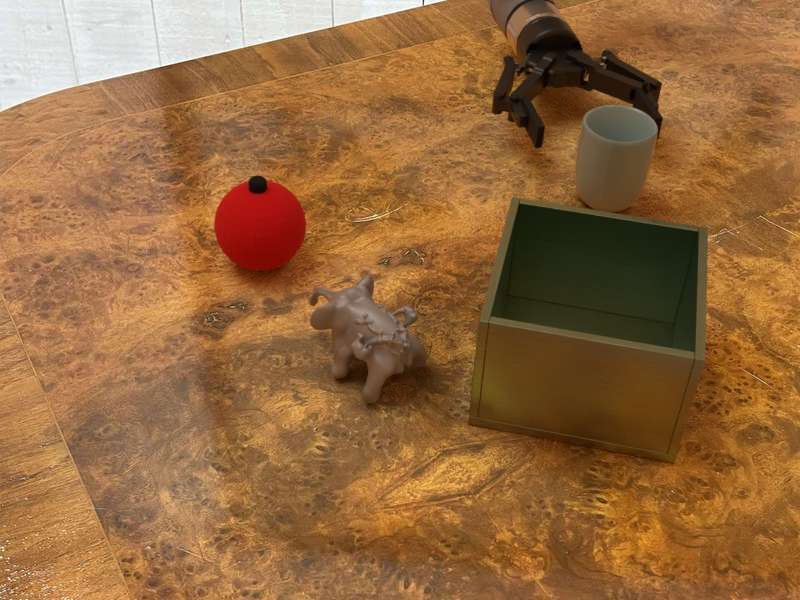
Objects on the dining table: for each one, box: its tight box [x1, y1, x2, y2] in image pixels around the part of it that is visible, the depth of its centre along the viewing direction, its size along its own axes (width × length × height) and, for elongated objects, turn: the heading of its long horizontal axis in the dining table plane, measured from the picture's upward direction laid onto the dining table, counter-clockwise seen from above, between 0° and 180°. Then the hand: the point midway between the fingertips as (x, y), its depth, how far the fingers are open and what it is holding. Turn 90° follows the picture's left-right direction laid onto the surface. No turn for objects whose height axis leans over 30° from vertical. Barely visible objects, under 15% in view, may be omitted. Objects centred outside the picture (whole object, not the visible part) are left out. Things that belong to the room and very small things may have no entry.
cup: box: [574, 104, 658, 213], centre depth 115 cm, size 8×8×10 cm
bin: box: [467, 196, 709, 464], centre depth 93 cm, size 18×18×12 cm
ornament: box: [213, 175, 307, 272], centre depth 105 cm, size 9×9×10 cm
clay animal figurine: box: [308, 273, 428, 404], centre depth 95 cm, size 9×12×8 cm
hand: (599, 133), depth 118 cm, fingers open, 13 cm apart
